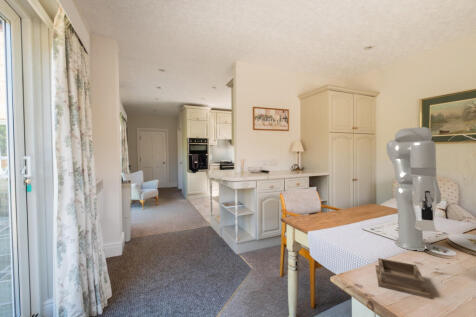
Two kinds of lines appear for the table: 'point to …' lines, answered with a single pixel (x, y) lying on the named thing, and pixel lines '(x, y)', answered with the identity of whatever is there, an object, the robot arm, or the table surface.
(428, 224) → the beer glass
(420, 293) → the brown wooden tray
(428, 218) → the robot arm
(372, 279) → the table surface
